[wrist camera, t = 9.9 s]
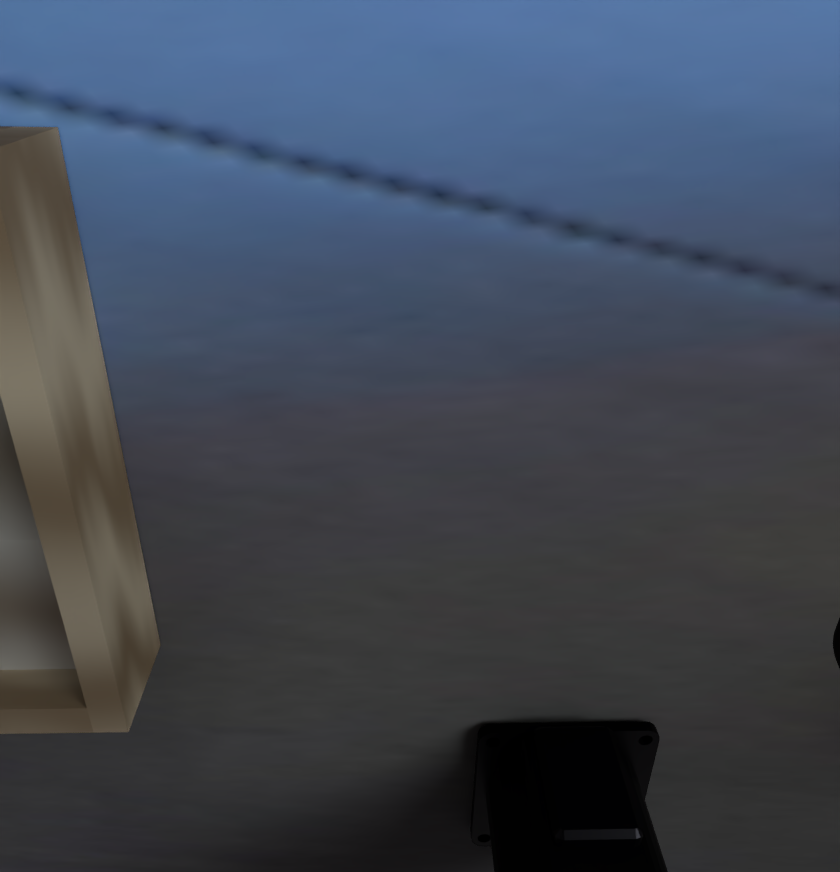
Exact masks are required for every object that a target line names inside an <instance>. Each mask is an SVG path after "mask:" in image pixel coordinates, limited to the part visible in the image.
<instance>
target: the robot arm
mask: <svg viewBox="0 0 840 872" xmlns="http://www.w3.org/2000/svg"><path fill="white" fill-rule="evenodd" d="M833 649H834V654H835V658H836V661H837V663H838V666H839V668H840V618H839V621H838V624H837V626H836V629H835V632H834V637H833ZM658 744H659V734H658V732H657V729H656V727H655V725H654V724H652V723H650V722H580V723H508V724H487V725H485V726H483V727H482V728H481V729H480V730H479V732H478V739H477V752H476V765H475V777H474V790H473V803H472V816H471V839H472V842H473V843H474V844H476V845H478V846H491V847H492V855H493V864H494V872H668V871H667V868H666V865H665V862H664V859H663V856H662V852H661V849H660V846H659V843H658V840H657V837H656V834H655V831H654V827H653V824H652V821H651V818H650V815H649V812H648V809H647V806H646V803H645V796H646V792H647V788H648V784H649V780H650V776H651V772H652V768H653V764H654V760H655V756H656V752H657V748H658Z"/></svg>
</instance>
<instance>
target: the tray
mask: <svg viewBox="0 0 840 872" xmlns="http://www.w3.org/2000/svg"><path fill="white" fill-rule="evenodd" d="M159 648H160V640H159V635H158V630H157V625H156V620H155V615H154V610H153V605H152V600H151V595H150V589H149V584H148V579H147V574H146V569H145V564H144V559H143V554H142V549H141V544H140V539H139V534H138V529H137V524H136V519H135V514H134V509H133V504H132V499H131V494H130V489H129V484H128V479H127V474H126V469H125V464H124V459H123V454H122V449H121V444H120V438H119V433H118V428H117V423H116V418H115V413H114V408H113V403H112V398H111V393H110V388H109V383H108V378H107V373H106V368H105V363H104V358H103V353H102V348H101V343H100V338H99V333H98V328H97V323H96V318H95V313H94V308H93V303H92V298H91V293H90V287H89V282H88V277H87V272H86V267H85V262H84V257H83V252H82V247H81V242H80V237H79V232H78V227H77V222H76V217H75V212H74V207H73V202H72V197H71V192H70V187H69V182H68V177H67V172H66V167H65V162H64V157H63V152H62V147H61V141H60V136H59V131H58V127H0V734H26V733H97V732H129V729H130V727H131V724H132V721H133V718H134V716H135V713H136V710H137V708H138V705H139V702H140V699H141V697H142V694H143V691H144V689H145V686H146V683H147V680H148V678H149V675H150V672H151V670H152V667H153V664H154V661H155V659H156V656H157V653H158V651H159Z"/></svg>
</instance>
